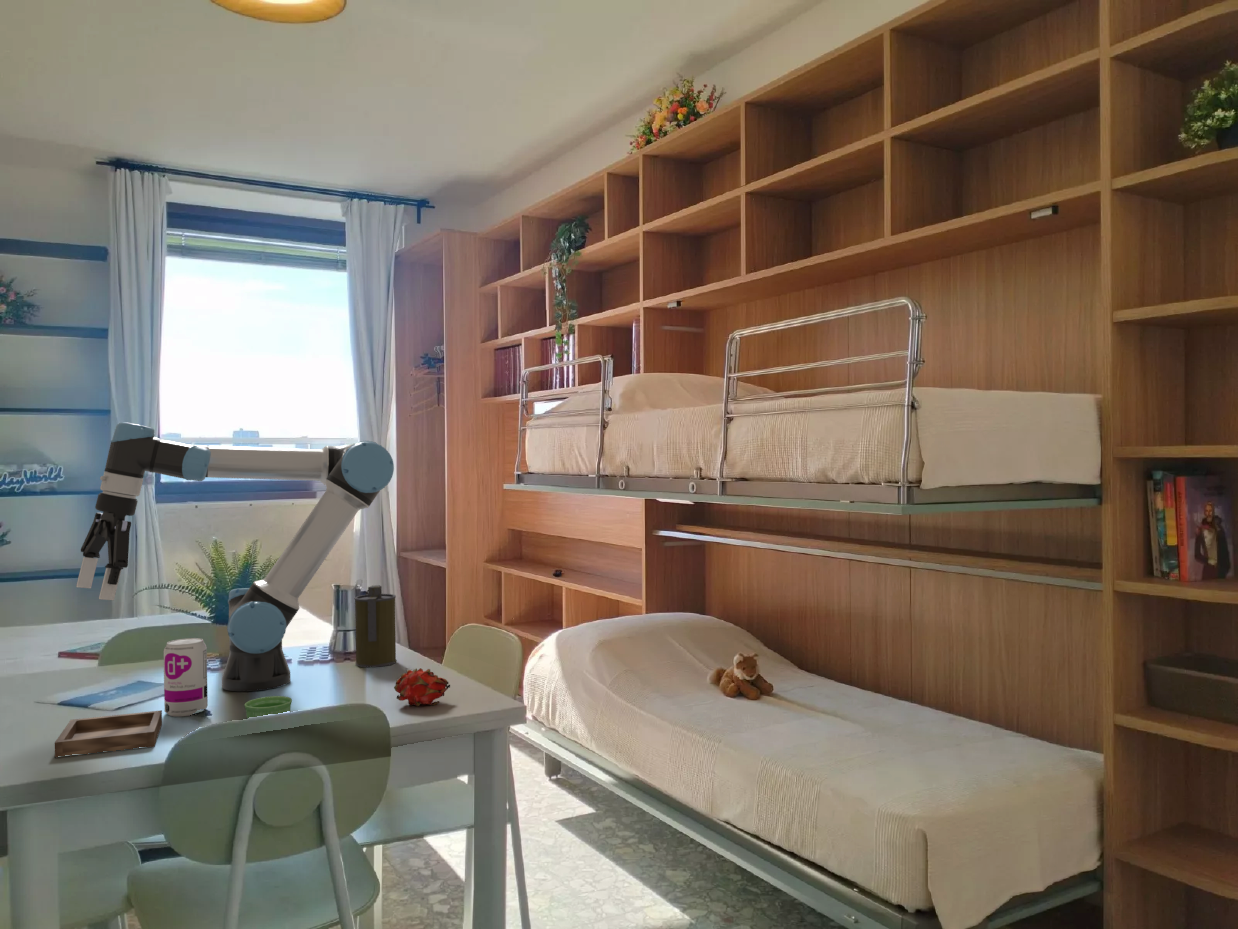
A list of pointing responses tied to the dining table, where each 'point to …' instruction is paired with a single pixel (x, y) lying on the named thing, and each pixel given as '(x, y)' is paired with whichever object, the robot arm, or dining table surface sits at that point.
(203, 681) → the supplement can
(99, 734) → the walnut tray
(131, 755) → the dining table surface
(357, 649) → the canister
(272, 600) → the robot arm
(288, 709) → the ramekin
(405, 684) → the dragon fruit
